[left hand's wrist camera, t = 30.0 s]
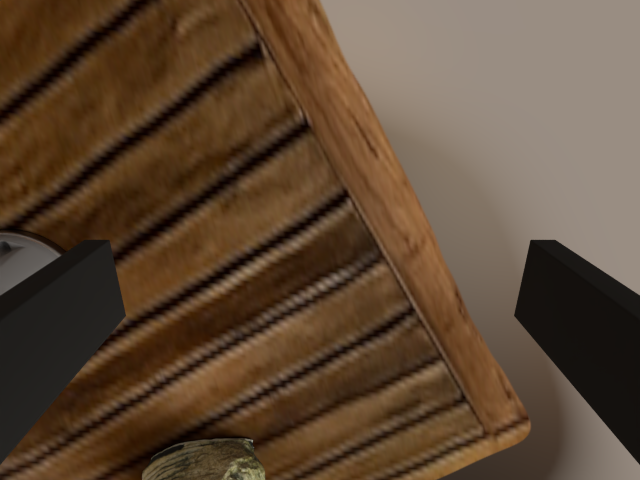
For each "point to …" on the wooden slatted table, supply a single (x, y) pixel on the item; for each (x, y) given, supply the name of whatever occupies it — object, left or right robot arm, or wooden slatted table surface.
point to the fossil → (206, 461)
